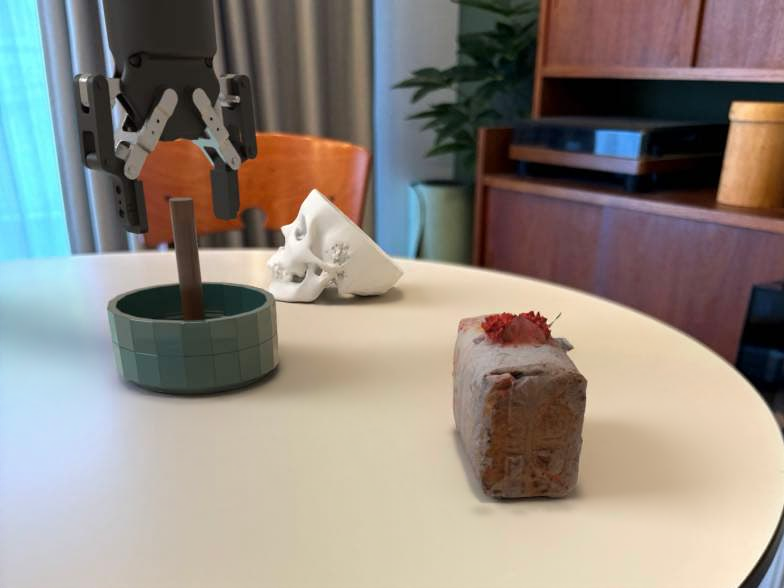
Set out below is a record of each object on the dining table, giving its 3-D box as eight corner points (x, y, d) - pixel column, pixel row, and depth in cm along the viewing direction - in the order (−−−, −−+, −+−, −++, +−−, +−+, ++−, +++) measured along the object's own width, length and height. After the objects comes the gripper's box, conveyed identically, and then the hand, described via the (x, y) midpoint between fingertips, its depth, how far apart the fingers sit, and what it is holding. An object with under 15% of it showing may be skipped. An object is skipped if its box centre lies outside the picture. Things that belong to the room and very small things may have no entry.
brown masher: (193, 377, 67) (173, 206, 61) (152, 362, 70) (128, 198, 64) (246, 361, 71) (232, 199, 64) (205, 347, 74) (188, 192, 68)
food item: (440, 420, 62) (446, 286, 57) (545, 417, 63) (558, 285, 58) (469, 503, 50) (479, 344, 45) (597, 500, 51) (620, 342, 46)
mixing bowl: (184, 411, 63) (174, 333, 60) (87, 372, 70) (74, 301, 67) (311, 369, 72) (308, 299, 69) (213, 338, 79) (206, 274, 76)
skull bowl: (251, 272, 97) (303, 177, 93) (353, 333, 102) (407, 245, 98) (249, 293, 88) (306, 188, 84) (360, 359, 93) (420, 263, 89)
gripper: (204, -13, 64) (223, 210, 72) (30, -29, 54) (74, 230, 62) (270, -17, 60) (282, 221, 68) (93, -35, 50) (132, 244, 58)
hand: (183, 225), depth 65 cm, fingers open, 8 cm apart
